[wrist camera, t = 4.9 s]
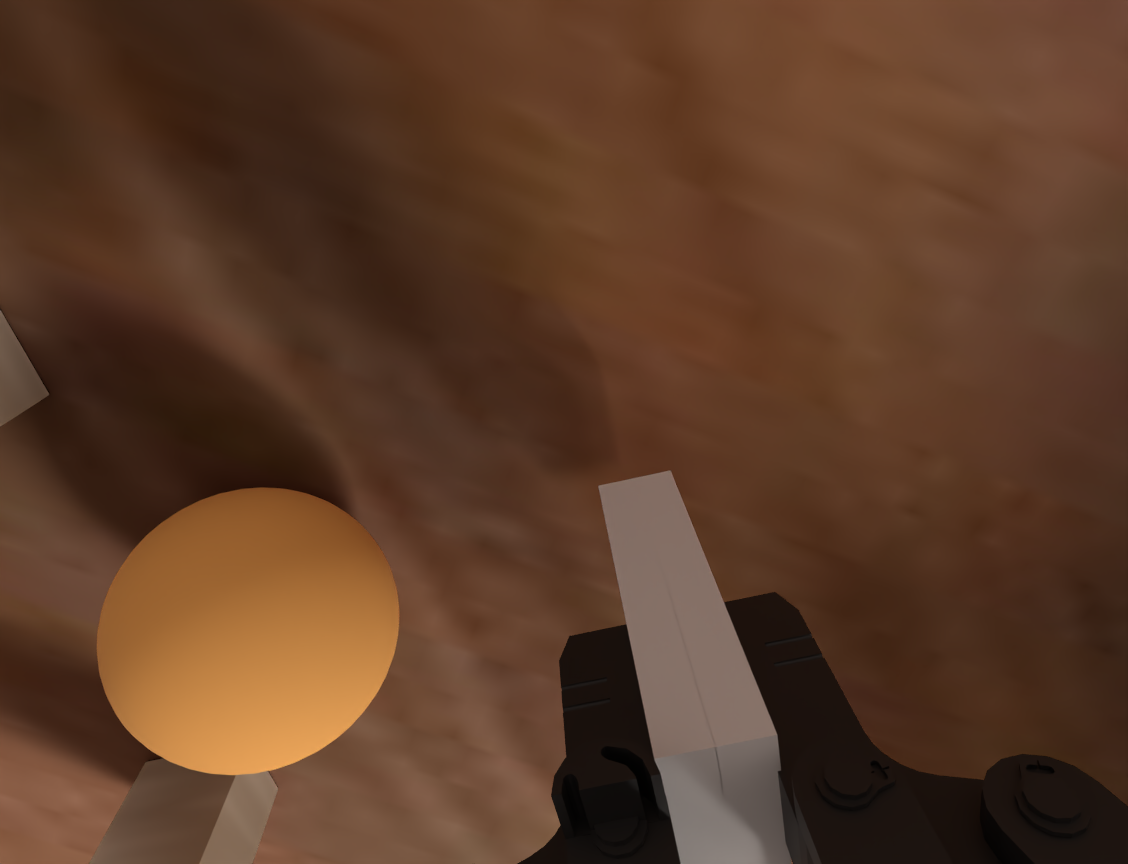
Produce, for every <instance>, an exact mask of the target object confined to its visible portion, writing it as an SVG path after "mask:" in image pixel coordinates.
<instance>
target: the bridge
mask: <svg viewBox="0 0 1128 864" xmlns="http://www.w3.org/2000/svg"><path fill="white" fill-rule="evenodd" d="M47 396H49V393H48V391H47V390H46V388H45V386H44V384H43V383H42V381H41V379H40V377H39V376H38V374H37V372H36V371H35V369H34V367H33V365H32V364H31V362H30V360H29V358H28V357H27V355H26V353H25V352H24V350H23V348H22V346H21V345H20V343H19V341H18V340H17V338H16V336H15V334H14V333H13V331H12V329H11V327H10V326H9V324H8V322H7V321H6V319H5V317H4V315H3V314H2V312H1V310H0V427H1V426H2V425H4V424H5V423H7V422H8V421H10V420H11V419H13V418H15V417H16V416H18V415H19V414H21V413H22V412H24V411H25V410H27V409H28V408H30V407H32V406H33V405H35V404H36V403H38V402H39V401H41V400H42V399H44V398H45V397H47ZM277 791H278V788H277V786H276V784H275V783H274V781H273V779H272V777H271V776H270V774H269V772H268V771H265V772H260V773H255V774H242V775H222V774H210V773H205V772H200V771H195V770H191V769H188V768H185V767H182V766H180V765H177V764H174V763H172V762H169V761H168V760H166V759H164V758H163V759H158V760H153V761H148V762H145V764H144V766H143V767H142V769H141V771H140V773H139V775H138V776H137V778H136V780H135V782H134V784H133V785H132V787H131V789H130V791H129V793H128V794H127V796H126V798H125V800H124V802H123V803H122V805H121V807H120V809H119V811H118V812H117V814H116V816H115V818H114V820H113V821H112V823H111V825H110V827H109V829H108V830H107V832H106V834H105V836H104V837H103V839H102V841H101V843H100V845H99V846H98V848H97V850H96V852H95V854H94V855H93V857H92V859H91V861H90V863H89V864H253V861H254V858H255V855H256V852H257V849H258V846H259V843H260V840H261V837H262V834H263V832H264V829H265V826H266V823H267V820H268V817H269V814H270V811H271V808H272V805H273V803H274V800H275V797H276V794H277Z"/></svg>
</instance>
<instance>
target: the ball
mask: <svg viewBox="0 0 1128 864" xmlns="http://www.w3.org/2000/svg"><path fill="white" fill-rule="evenodd" d="M398 631H399V603H398V594H397V588H396V585H395V581H394V578H393V575H392V571H391V569H390V566H389V564H388V562H387V560H386V558H385V556H384V554H383V552H382V550H381V549H380V547H379V546H378V544H377V543H376V542H375V540H374V539H373V538H372V536H371V535H370V534H369V533H368V532H367V530H366V529H365V528H364V527H363V526H362V525H361V524H360V523H359V522H358V521H356V520H355V519H354V518H353V517H352V516H350V515H349V514H348V513H346V512H345V511H343V510H341V509H340V508H338V507H337V506H335V505H333V504H331V503H329V502H328V501H325V500H323V499H320V498H318V497H315V496H312V495H310V494H307V493H303V492H299V491H294V490H289V489H282V488H264V487H259V488H247V489H239V490H234V491H230V492H225V493H220V494H217V495H214V496H211V497H208V498H205V499H202V500H200V501H198V502H196V503H194V504H192V505H190V506H188V507H186V508H184V509H182V510H180V511H178V512H177V513H175V514H174V515H172V516H171V517H169V518H168V519H166V520H165V521H163V522H162V523H160V524H159V525H158V526H157V527H156V528H155V529H153V530H152V531H151V532H150V533H149V534H147V535H146V536H145V537H144V538H143V540H142V541H141V542H140V543H139V544H138V545H137V546H136V547H135V548H134V550H133V551H132V552H131V553H130V555H129V556H128V558H127V559H126V561H125V562H124V563H123V565H122V566H121V568H120V569H119V571H118V572H117V574H116V576H115V578H114V580H113V582H112V584H111V586H110V588H109V590H108V592H107V595H106V598H105V601H104V604H103V607H102V610H101V616H100V621H99V626H98V632H97V658H98V666H99V674H100V677H101V681H102V684H103V687H104V691H105V694H106V696H107V698H108V700H109V702H110V704H111V706H112V708H113V710H114V712H115V714H116V715H117V717H118V718H119V720H120V721H121V723H122V724H123V725H124V727H125V728H126V729H127V730H128V731H129V732H130V733H131V734H132V735H133V736H134V737H135V738H136V739H137V740H138V741H139V742H141V743H142V744H143V745H144V746H145V747H147V748H148V749H149V750H150V751H152V752H154V753H155V754H157V755H159V756H161V757H162V758H164V759H166V760H168V761H169V762H172V763H174V764H177V765H180V766H182V767H185V768H188V769H191V770H195V771H200V772H205V773H210V774H222V775H242V774H255V773H260V772H265V771H270V770H274V769H278V768H281V767H284V766H286V765H289V764H292V763H295V762H297V761H299V760H301V759H303V758H305V757H307V756H309V755H311V754H313V753H315V752H317V751H319V750H320V749H322V748H323V747H325V746H326V745H328V744H329V743H331V742H332V741H334V740H335V739H336V738H338V737H339V736H340V735H341V734H342V733H343V732H345V731H346V730H347V729H348V728H349V727H350V726H351V725H352V724H353V723H354V722H355V721H356V720H357V718H358V717H359V716H360V715H361V714H362V713H363V712H364V711H365V709H366V708H367V707H368V705H369V704H370V703H371V701H372V700H373V698H374V697H375V695H376V694H377V692H378V691H379V689H380V687H381V685H382V683H383V681H384V679H385V677H386V675H387V672H388V670H389V667H390V664H391V661H392V659H393V656H394V652H395V648H396V643H397V638H398Z"/></svg>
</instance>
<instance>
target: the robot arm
mask: <svg viewBox="0 0 1128 864" xmlns="http://www.w3.org/2000/svg"><path fill="white" fill-rule="evenodd" d="M598 487H599V492H600V497H601V502H602V507H603V512H604V517H605V522H606V526H607V531H608V536H609V541H610V546H611V551H612V556H613V560H614V565H615V570H616V575H617V580H618V585H619V590H620V595H621V599H622V604H623V609H624V614H625V619H626V625H621V626H617V627H612V628H607V629H602V630H597V631H592V632H587V633H582V634H578V635H573V636H569V639H568V641H567V643H566V646H565V648H564V651H563V653H562V655H561V658H560V660H559V664H560V677H561V688H562V704H563V711H564V713H563V718H564V731H565V745H566V758H565V759H564V761H563V763H562V764H561V766H560V768H559V769H558V771H557V773H556V774H555V776H554V781H553V787H552V794H551V797H552V800H553V803H554V806H555V809H556V812H557V815H558V818H559V821H560V824H561V826H560V827H559V829H558V831H557V832H556V834H555V835H554V836H553V837H552V839H551V840H550V841H549V842H548V843H547V844H546V845H545V846H544V847H543V848H541V849H540V850H539V851H537V852H536V853H534V854H533V855H531V856H530V857H528V858H527V859H525V860H523V861H521V862H519V863H518V864H791V859H792V862H793V864H1128V807H1127V806H1126V805H1125V804H1124V803H1123V802H1122V801H1120V800H1119V799H1118V798H1117V797H1116V796H1114V795H1113V794H1112V793H1111V792H1110V791H1109V790H1107V789H1106V788H1105V787H1104V786H1103V785H1102V784H1100V783H1099V782H1098V781H1096V780H1095V779H1093V778H1092V777H1090V776H1089V775H1087V774H1086V773H1084V772H1083V771H1081V770H1080V769H1078V768H1076V767H1075V766H1073V765H1070V764H1067V763H1064V762H1062V761H1059V760H1056V759H1053V758H1051V757H1048V756H1037V755H1026V754H1021V755H1017V756H1012V757H1008V758H1004V759H1001V760H1000V761H998V762H997V763H996V764H995V765H994V766H992V767H991V768H990V769H989V770H987V773H986V776H985V780H978V779H968V778H958V777H949V776H939V775H933V774H928V773H923V772H918V771H916V770H913V769H911V768H908V767H906V766H903V765H901V764H899V763H897V762H896V761H894V760H892V759H891V758H889V757H888V756H887V755H885V754H884V753H882V752H881V751H880V750H879V749H878V748H877V747H876V746H875V745H874V744H873V743H872V742H871V740H870V739H869V738H868V736H867V735H866V733H865V732H864V730H863V729H862V727H861V725H860V723H859V721H858V719H857V717H856V716H855V714H854V712H853V710H852V708H851V706H850V704H849V703H848V701H847V699H846V697H845V695H844V693H843V692H842V690H841V688H840V686H839V684H838V682H837V680H836V679H835V677H834V675H833V673H832V671H831V669H830V668H829V666H828V664H827V662H826V660H825V658H823V657H822V653H821V651H820V649H819V647H818V645H817V644H816V642H815V640H814V638H812V636H811V632H810V631H809V629H808V627H807V625H806V623H805V621H804V619H803V618H802V616H801V614H800V612H799V610H798V609H796V608H795V607H794V606H793V605H791V604H790V603H789V602H787V601H786V600H785V599H783V598H782V597H781V596H780V595H778V594H777V593H776V592H773V593H768V594H763V595H758V596H753V597H748V598H744V599H739V600H734V601H729V602H723V599H722V597H721V594H720V592H719V589H718V587H717V584H716V582H715V579H714V577H713V574H712V572H711V569H710V567H709V564H708V562H707V559H706V557H705V554H704V552H703V550H702V547H701V545H700V542H699V540H698V537H697V535H696V532H695V530H694V527H693V525H692V522H691V520H690V517H689V515H688V512H687V510H686V507H685V505H684V502H683V500H682V498H681V495H680V493H679V490H678V488H677V485H676V483H675V480H674V478H673V475H672V473H671V470H670V471H665V472H661V473H656V474H651V475H646V476H642V477H637V478H632V479H628V480H623V481H618V482H614V483H609V484H604V485H599V486H598Z"/></svg>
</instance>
